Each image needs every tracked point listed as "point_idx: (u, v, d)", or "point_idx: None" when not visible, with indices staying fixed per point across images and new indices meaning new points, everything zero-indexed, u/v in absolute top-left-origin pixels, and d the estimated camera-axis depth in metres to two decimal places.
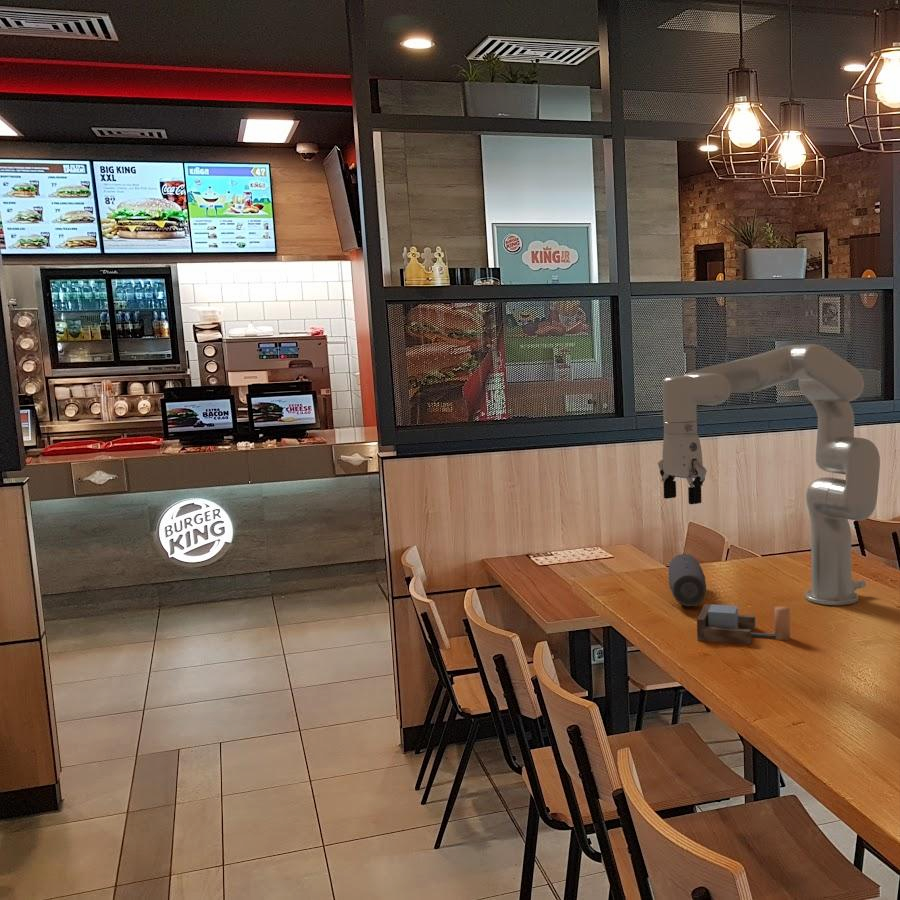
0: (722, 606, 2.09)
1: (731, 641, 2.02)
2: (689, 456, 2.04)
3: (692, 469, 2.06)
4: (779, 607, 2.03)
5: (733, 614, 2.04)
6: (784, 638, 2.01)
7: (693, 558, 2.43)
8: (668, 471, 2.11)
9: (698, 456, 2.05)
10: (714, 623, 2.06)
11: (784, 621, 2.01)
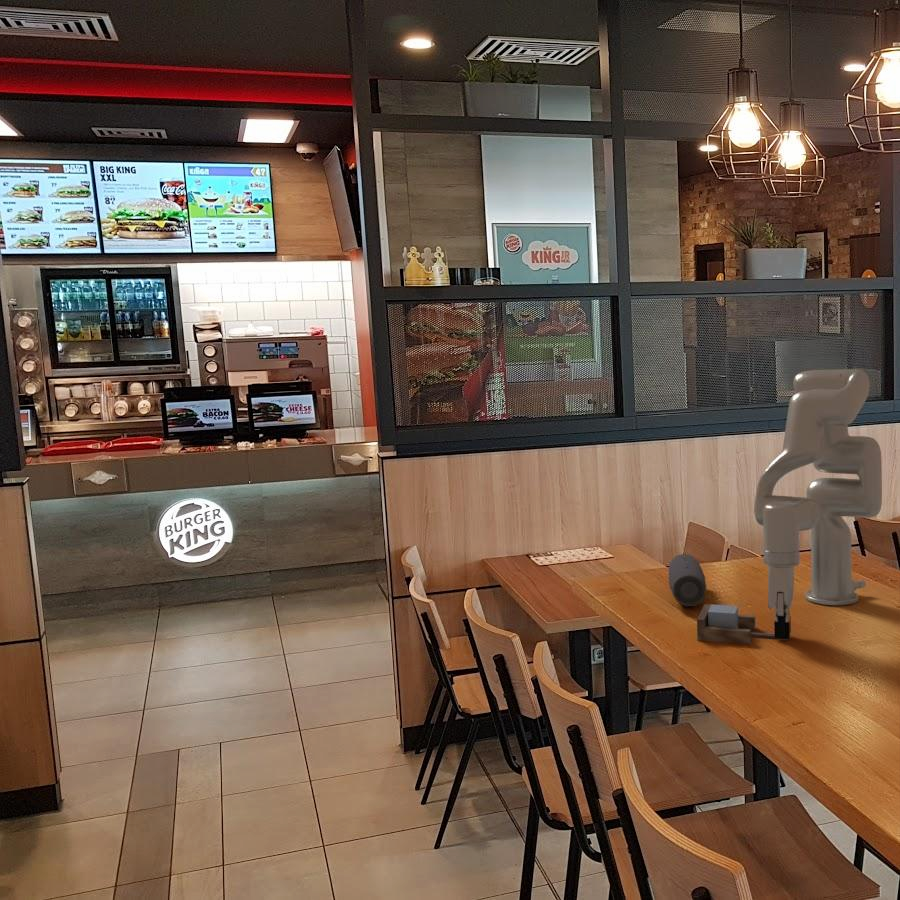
0: (723, 606, 2.09)
1: (731, 641, 2.02)
2: None
3: None
4: None
5: (733, 614, 2.04)
6: None
7: (693, 558, 2.43)
8: (791, 604, 1.99)
9: None
10: (714, 623, 2.06)
11: None
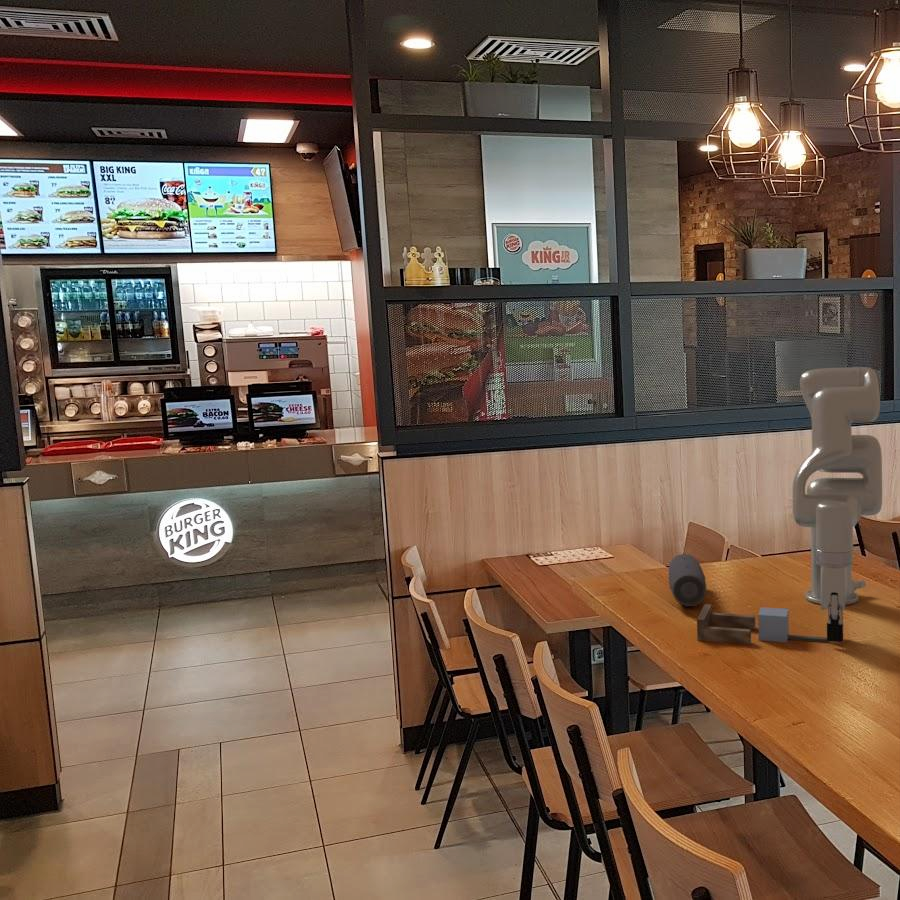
0: (773, 609, 2.05)
1: (731, 641, 2.02)
2: None
3: None
4: None
5: (785, 617, 1.99)
6: (837, 642, 1.97)
7: (693, 558, 2.43)
8: None
9: None
10: (765, 626, 2.01)
11: None
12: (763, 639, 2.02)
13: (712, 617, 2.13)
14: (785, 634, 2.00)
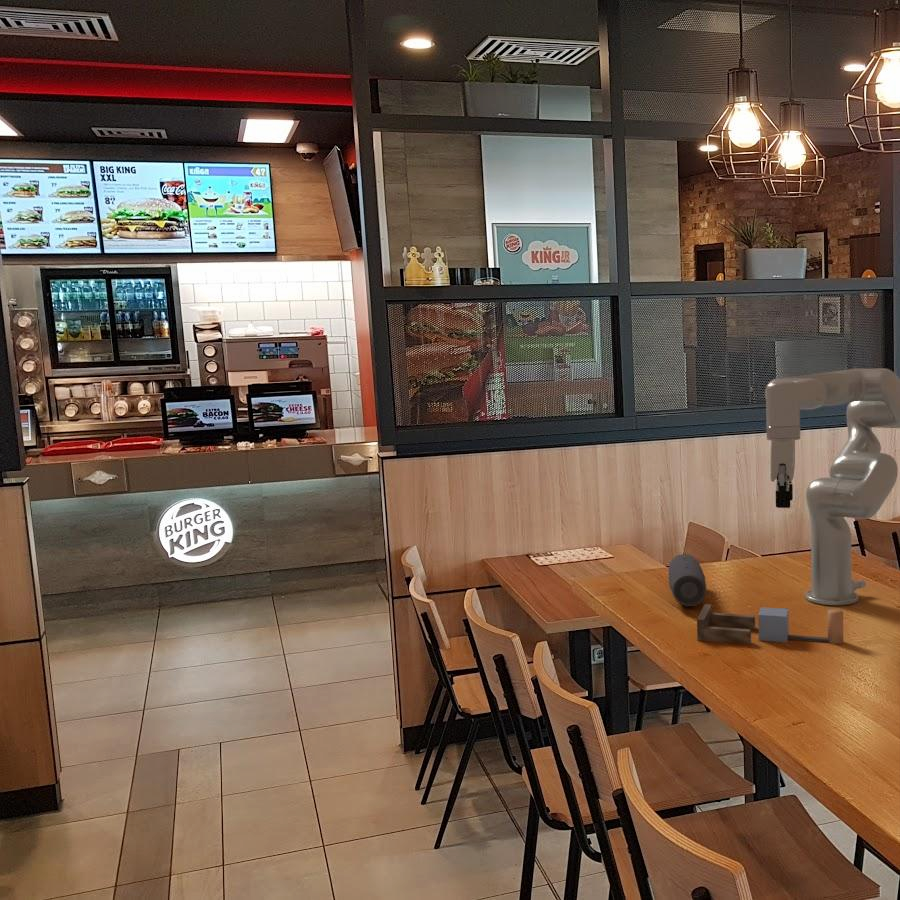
0: (773, 609, 2.05)
1: (731, 641, 2.02)
2: None
3: None
4: (832, 610, 1.98)
5: (785, 617, 1.99)
6: (837, 642, 1.97)
7: (693, 558, 2.43)
8: (792, 476, 2.10)
9: None
10: (765, 626, 2.01)
11: (838, 625, 1.96)
12: (763, 639, 2.02)
13: (712, 617, 2.13)
14: (785, 634, 2.00)
